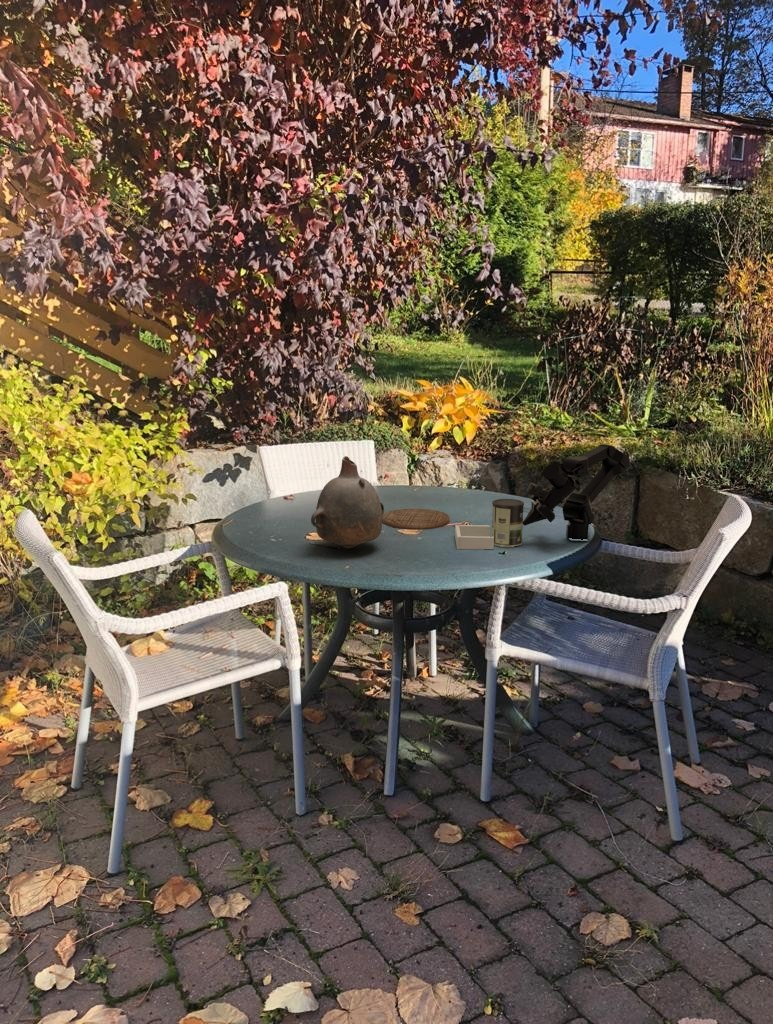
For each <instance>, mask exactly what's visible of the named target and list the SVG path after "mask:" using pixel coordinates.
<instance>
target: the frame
mask: <svg viewBox="0 0 773 1024" xmlns="http://www.w3.org/2000/svg"><path fill="white" fill-rule="evenodd" d="M454 527H455V531H454V533H455V534H454V537H455V538H454V539H455V543H456V544H455V546H456V549H457V550H484V549H494V548H495V547H494V546H495V545H494V537H492V536H491V525H487V524H486V525H484V524H483V525H482V524H481V525H480V524H479V525H476V524H475V525H474V524H471V525H470V524H469V525H468V524H466V525H465V524H455V526H454Z"/></svg>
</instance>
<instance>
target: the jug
mask: <svg viewBox="0 0 773 1024" xmlns="http://www.w3.org/2000/svg"><path fill="white" fill-rule="evenodd" d="M358 471H359V470H358V466H357V464H356V463H355V462H354V461H353V460H351V458H350V457H348V456H347V455H345V456H343V457H342V459H341V466H340V471H339V474H338V476H337V477H334V478H332V479H330V480H329V481H328V482H327V483H325V485H324V487H323V488H322V490H321V492H320V493H319V495H318V499H317V504H316V510H315V511H314V512H313V513H312V515H311V518H310V522H311V523H310V524H311V525H312V526H313V527H315V528H316V532H317V536H318V537H319V538H320V539H321V540H324V541H326V542H328V543H331V544H335V545H339V546H341V547H343V548H345V549H347V550H349V549H352V548H355V547H357V546H360V545H362V544H364V543H371V542H373V541H375V540H376V539H378V538H379V537H380V535H381V532H382V529H383V528H382V527H383V522H382V516H383V514H384V513H385V508H384V507H385V506H384V504H383V503H382V502H381V500H380V498H379V495H378V492H377V490H376V488H375V487H374V486H373V484H372V483H371V482H369V480H367V479H366V478H364V477H361V476H360V474H359V472H358Z"/></svg>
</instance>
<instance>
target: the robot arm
mask: <svg viewBox="0 0 773 1024" xmlns="http://www.w3.org/2000/svg"><path fill="white" fill-rule="evenodd" d="M599 463H601V468H599V469H600V470H599V471H598V472H597V473H596V474H595V475H594V476H593V478H592V479H591V480H590V481H589V482H588V484H587V485H586V486H585V487H584V488H583V489H582V491H581V484H582V483H581V482H580V481H579V480H576V479H574V478H577V479H578V478H579V479H581V478H583V477H584V476H585V475H586V474H587V473H588V472H589V469H590V468H592V467H593V466H595V465H597V464H599ZM630 465H631V459H630V458H629V455H627V454H626V453H624V452H622V451H620V449H619V450H618V449H617V448H616V447H615V446H613V445H611V444H605V443H601V444H599V445H598V446H597V447H594V448H593V449H591V450H589V451H587V452H586V453H583V454H582V455H579V456H571V457H567V458H564V460H562V462H560V461H557V460H553V461H552V463H551V464H548V465H546V467H545V468H544V469H543V470H542V476H543V478H544V479H545V480H546V481H547V482H548V483H549V484H550V485H551V486H547V487H546V488H544V487H543V485H540V484H536V483H534V482H531V481H530V482H529V484H528V486H527V488H526V490H525V491H526V493H527V494H528V495H530V496H529V497H530V499H531V500H533V502H532V501H530V506H531V507H530V508H531V509H530V510H529V511H528V514H527V515H526V517H525V518H523V526H528V525H531V524H534V523H537V522H541V521H543V520H548V522H549V523H552V522H553V521H554V520H555V519H556V515H555V512H554V511H555V508H556V507H557V506H558V505H560V504H561V505H562V504H563V505H562V514H563V515H562V516H563V521H568V522H567V523H568V524H566V526H565V529H566V530H565V536H566V538H567V539H568V538H572V539H581V540H583V539H589V527H590V525H592V524H593V523H594V520H595V515H594V514H593V512H592V503H593V502H594V501H595V499H596V498H597V497H598V496H599V495H600V494H601V492H602V491H603V490H604V489H605V488H606V486H607V485H608V484H609V483H610V481H612V479H613V478H614V477H617V476H620V475H622V474H623V473H624V472H626V470H628V469H629V467H630ZM575 490H576V491H577V492H580V491H581V492H580V493H577V492H574V491H575ZM567 497H568V498H567ZM564 500H565V502H564Z"/></svg>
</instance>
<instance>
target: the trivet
mask: <svg viewBox="0 0 773 1024" xmlns="http://www.w3.org/2000/svg"><path fill="white" fill-rule="evenodd" d="M449 524H450V515H449V514H447V513H446V512H444V511H440V510H434V509H430V508H429V509H428V508H427V509H426V508H401V509H394V510H389V511H387V512H384V514H383V516H382V525H385V526H387V527H390V528H395V529H400V530H401V529H402V530H409V531H410V530H412V531H413V530H414V531H416V530H418V531H421V530H434V529H439V528H443V527H445V526H447V525H449Z"/></svg>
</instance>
